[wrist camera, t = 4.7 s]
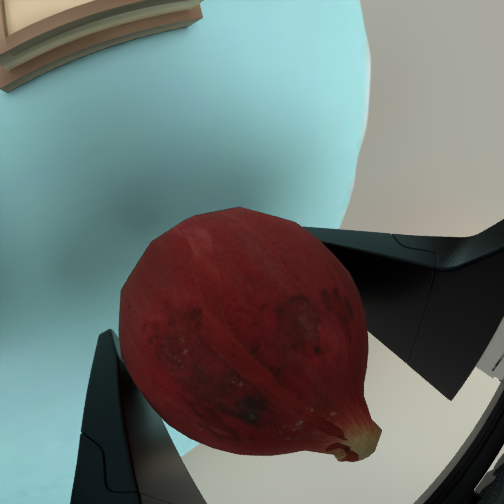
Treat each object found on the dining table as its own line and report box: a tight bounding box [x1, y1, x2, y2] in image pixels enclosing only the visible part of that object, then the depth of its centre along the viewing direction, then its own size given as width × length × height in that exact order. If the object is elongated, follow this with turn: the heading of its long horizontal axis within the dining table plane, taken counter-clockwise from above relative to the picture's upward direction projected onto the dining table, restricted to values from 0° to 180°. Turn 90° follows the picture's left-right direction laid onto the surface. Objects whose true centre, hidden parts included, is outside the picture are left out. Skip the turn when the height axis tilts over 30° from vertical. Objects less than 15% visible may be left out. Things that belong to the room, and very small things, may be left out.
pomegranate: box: [119, 207, 382, 462], centre depth 7 cm, size 6×6×8 cm
